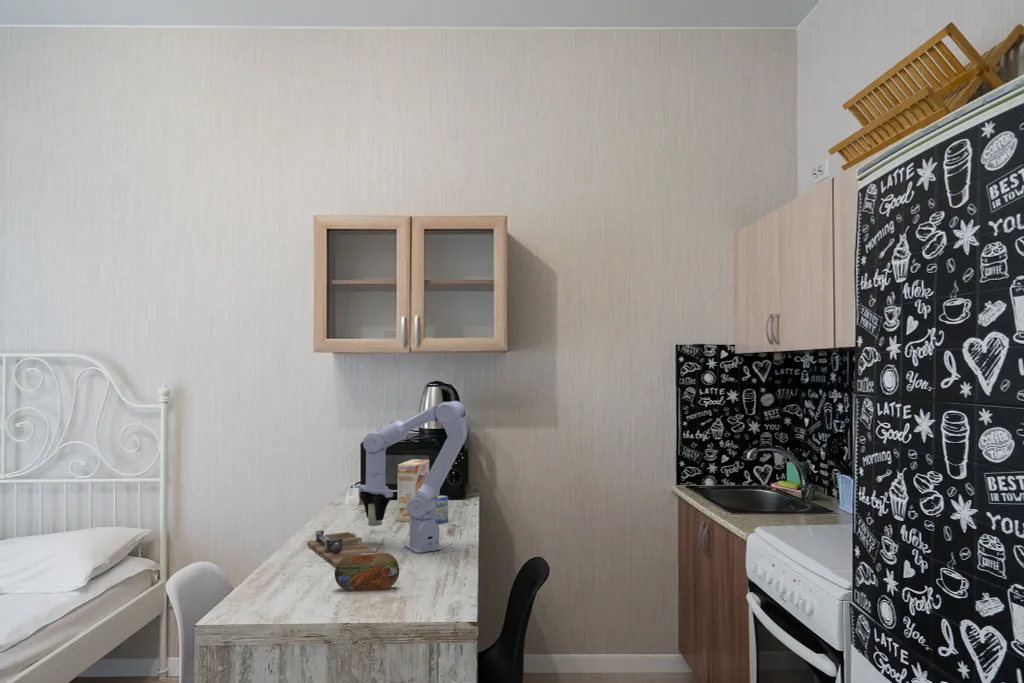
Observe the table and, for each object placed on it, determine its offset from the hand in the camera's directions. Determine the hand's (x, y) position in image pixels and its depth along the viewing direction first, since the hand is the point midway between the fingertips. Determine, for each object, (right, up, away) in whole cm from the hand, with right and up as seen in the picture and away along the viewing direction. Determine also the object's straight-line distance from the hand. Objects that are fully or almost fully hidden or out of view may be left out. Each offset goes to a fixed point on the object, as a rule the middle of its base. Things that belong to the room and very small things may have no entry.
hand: (375, 518), depth 207 cm
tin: (+6, -6, -42) cm, 43 cm away
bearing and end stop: (-13, -6, -7) cm, 16 cm away
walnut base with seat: (-6, -7, -11) cm, 14 cm away
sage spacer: (0, -2, 0) cm, 2 cm away
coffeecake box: (+6, -9, +38) cm, 40 cm away
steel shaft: (-11, -6, -9) cm, 16 cm away
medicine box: (+15, -9, +30) cm, 34 cm away
